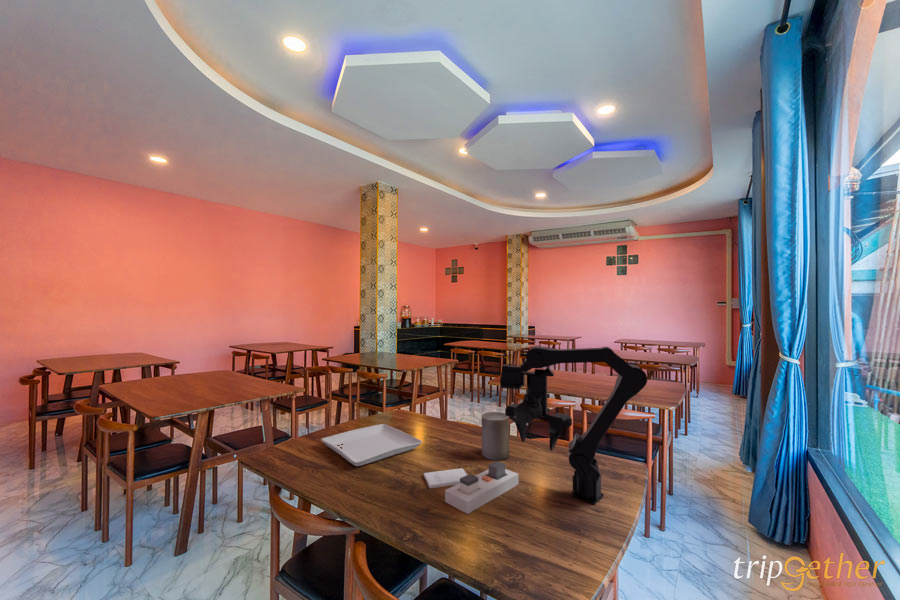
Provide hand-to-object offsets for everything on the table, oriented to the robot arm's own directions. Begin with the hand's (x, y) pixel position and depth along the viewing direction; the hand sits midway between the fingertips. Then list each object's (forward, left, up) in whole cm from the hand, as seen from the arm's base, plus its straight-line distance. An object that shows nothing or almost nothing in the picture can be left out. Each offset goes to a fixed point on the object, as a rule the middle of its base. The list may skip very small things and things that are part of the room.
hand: (537, 445), depth 103 cm
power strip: (+9, +13, -12) cm, 20 cm away
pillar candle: (+23, -10, -12) cm, 28 cm away
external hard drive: (+22, +15, -13) cm, 29 cm away
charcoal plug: (+9, +7, -12) cm, 17 cm away
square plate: (+58, +18, -13) cm, 62 cm away
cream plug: (+9, +19, -12) cm, 24 cm away
